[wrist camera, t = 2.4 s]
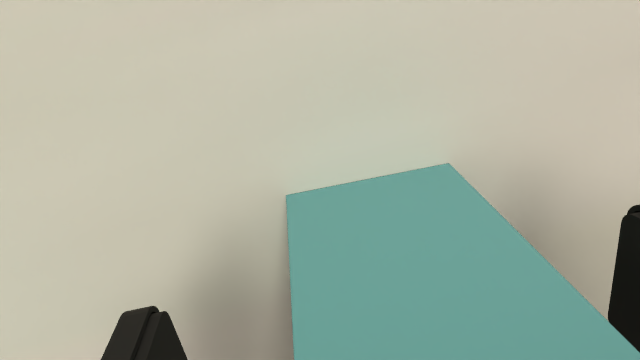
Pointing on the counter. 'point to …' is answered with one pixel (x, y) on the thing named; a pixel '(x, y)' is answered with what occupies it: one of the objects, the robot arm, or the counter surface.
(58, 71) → the counter surface
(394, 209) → the domino
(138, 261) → the counter surface
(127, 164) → the counter surface
